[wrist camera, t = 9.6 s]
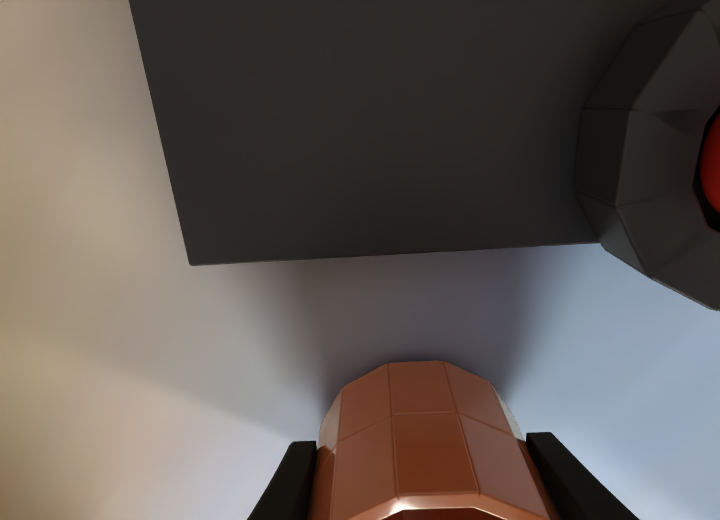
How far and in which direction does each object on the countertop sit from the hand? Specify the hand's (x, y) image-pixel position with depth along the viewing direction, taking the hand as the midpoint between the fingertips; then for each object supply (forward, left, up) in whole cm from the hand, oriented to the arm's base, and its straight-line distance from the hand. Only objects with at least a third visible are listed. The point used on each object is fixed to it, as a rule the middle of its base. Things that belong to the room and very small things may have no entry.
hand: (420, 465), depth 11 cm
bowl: (0, 0, -1) cm, 1 cm away
